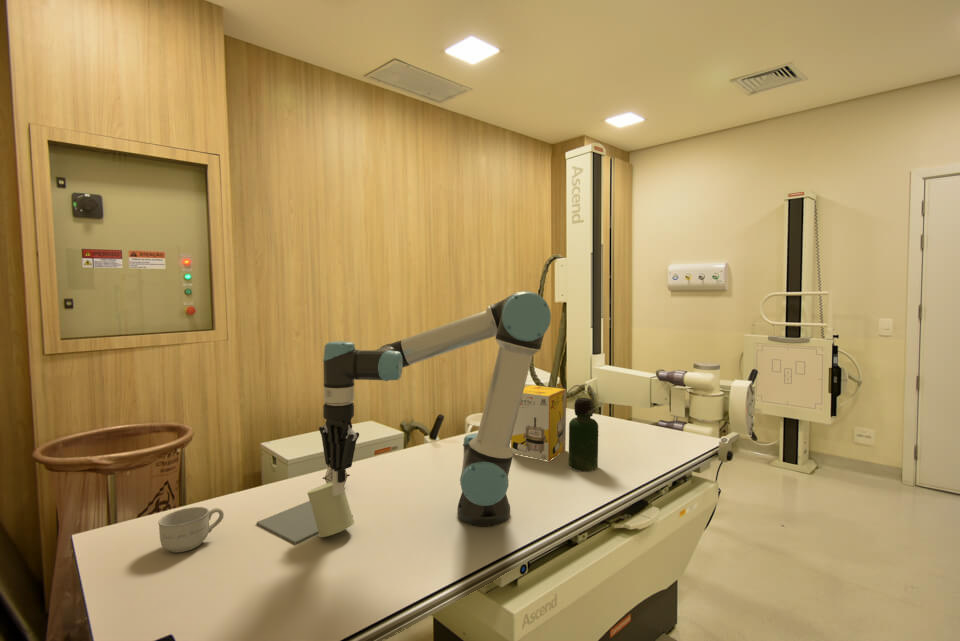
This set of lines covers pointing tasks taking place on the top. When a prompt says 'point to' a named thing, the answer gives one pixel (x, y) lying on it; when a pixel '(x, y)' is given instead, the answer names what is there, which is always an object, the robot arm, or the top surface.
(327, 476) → the game die
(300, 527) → the mat
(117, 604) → the top surface
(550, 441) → the packaging box
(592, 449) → the green bottle
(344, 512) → the can
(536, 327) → the robot arm
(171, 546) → the teacup
